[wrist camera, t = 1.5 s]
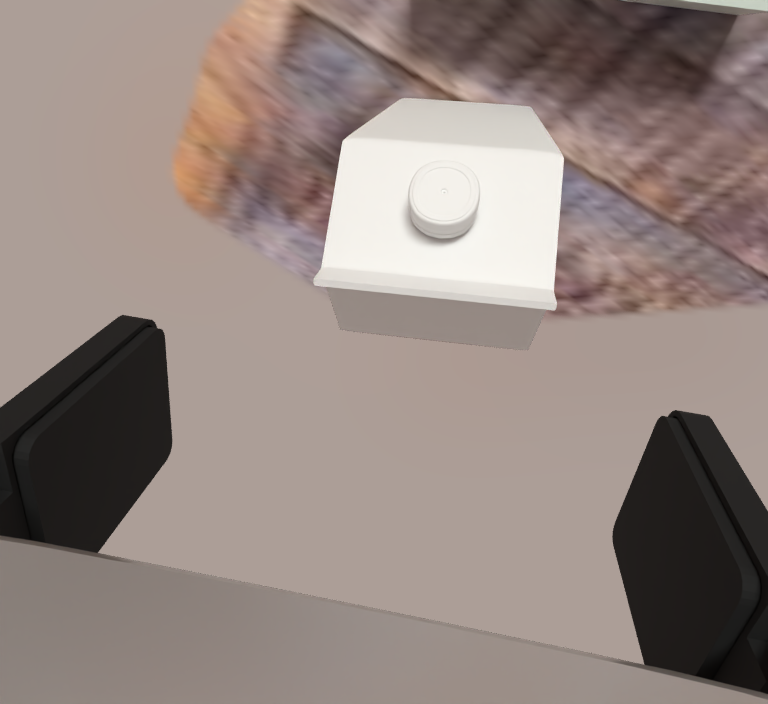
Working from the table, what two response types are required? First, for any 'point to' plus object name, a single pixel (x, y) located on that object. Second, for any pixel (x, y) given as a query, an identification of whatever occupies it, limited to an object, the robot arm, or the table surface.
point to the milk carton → (445, 224)
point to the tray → (714, 5)
